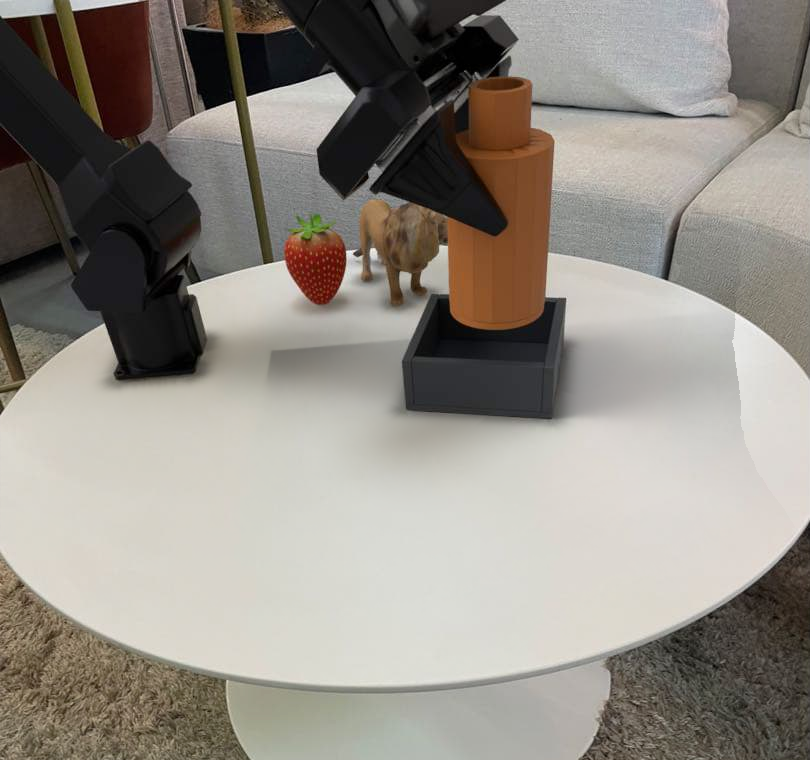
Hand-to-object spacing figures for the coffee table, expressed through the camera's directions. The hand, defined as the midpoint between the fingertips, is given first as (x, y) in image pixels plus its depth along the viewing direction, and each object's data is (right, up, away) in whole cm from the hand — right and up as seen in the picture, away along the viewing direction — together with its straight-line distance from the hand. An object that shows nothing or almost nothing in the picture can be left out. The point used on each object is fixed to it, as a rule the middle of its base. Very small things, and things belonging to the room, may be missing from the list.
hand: (519, 210), depth 50 cm
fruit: (-14, +1, +23) cm, 27 cm away
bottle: (-1, -5, +5) cm, 7 cm away
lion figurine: (-7, +3, +24) cm, 25 cm away
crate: (-1, -8, +11) cm, 14 cm away
